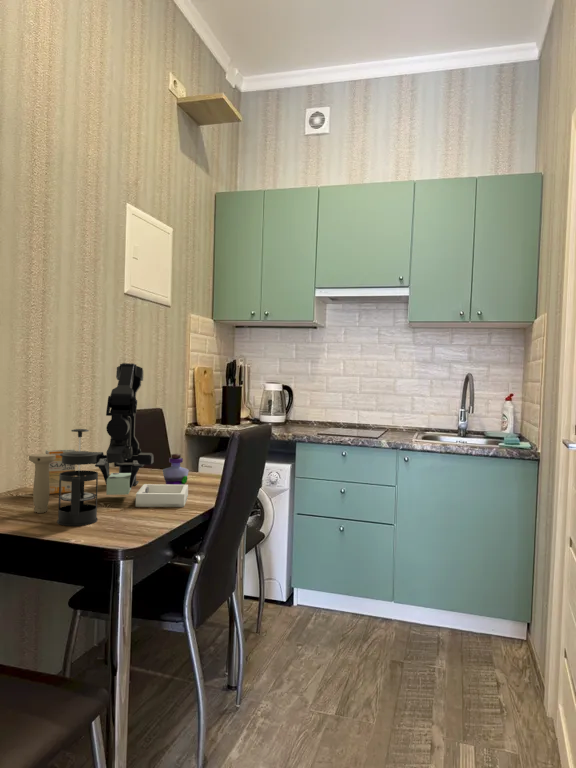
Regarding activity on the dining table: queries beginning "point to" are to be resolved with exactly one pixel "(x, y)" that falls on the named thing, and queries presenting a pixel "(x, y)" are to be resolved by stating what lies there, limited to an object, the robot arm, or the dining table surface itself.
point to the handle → (41, 481)
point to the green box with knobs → (118, 484)
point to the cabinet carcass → (162, 495)
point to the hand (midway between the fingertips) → (119, 487)
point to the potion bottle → (175, 471)
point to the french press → (78, 488)
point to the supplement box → (56, 469)
